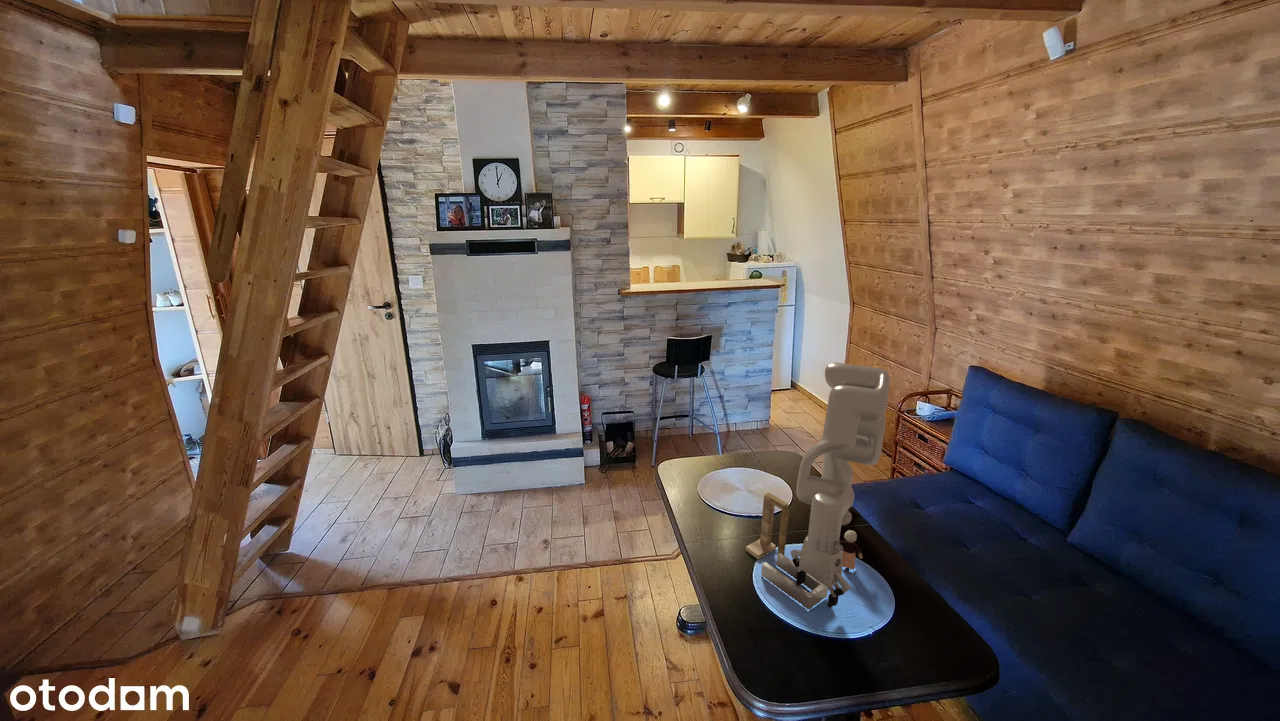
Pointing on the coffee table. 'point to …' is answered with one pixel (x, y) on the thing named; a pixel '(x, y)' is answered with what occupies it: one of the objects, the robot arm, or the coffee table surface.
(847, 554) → the grandmother figurine
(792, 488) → the coffee table surface
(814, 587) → the steel C-link
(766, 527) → the pin stand
